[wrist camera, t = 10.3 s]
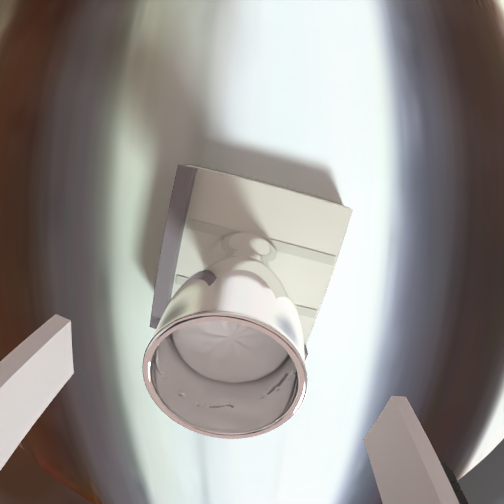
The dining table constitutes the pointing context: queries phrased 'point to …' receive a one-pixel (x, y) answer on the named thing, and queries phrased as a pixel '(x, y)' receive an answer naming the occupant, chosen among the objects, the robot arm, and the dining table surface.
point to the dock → (252, 221)
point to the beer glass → (230, 345)
